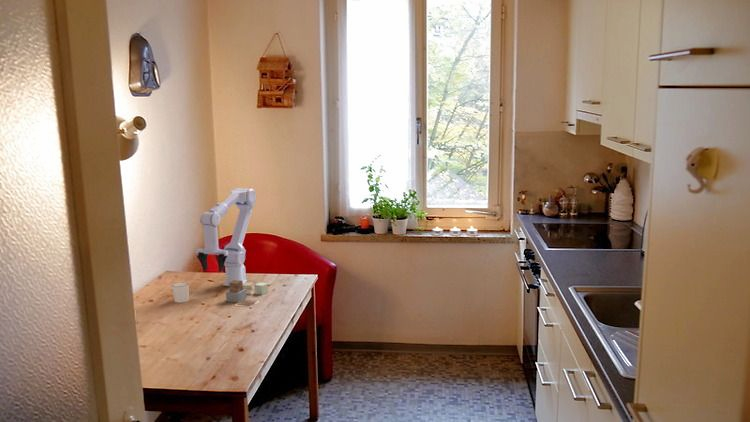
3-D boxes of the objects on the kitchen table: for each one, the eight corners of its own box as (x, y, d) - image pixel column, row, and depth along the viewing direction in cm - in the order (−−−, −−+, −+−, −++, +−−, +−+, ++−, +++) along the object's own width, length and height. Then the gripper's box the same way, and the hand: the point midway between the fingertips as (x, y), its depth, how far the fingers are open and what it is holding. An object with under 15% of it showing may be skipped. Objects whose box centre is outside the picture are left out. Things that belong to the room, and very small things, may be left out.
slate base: (234, 297, 283) (234, 288, 282) (246, 298, 280) (246, 289, 280) (226, 301, 277) (225, 292, 277) (238, 302, 275) (237, 293, 274)
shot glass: (179, 304, 274) (178, 287, 273) (169, 301, 278) (168, 285, 277) (193, 299, 279) (192, 283, 278) (183, 297, 283) (182, 281, 282)
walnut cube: (234, 289, 281) (233, 279, 280) (242, 289, 280) (242, 280, 279) (229, 291, 277) (229, 282, 276) (238, 292, 276) (237, 283, 275)
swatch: (243, 300, 278) (243, 298, 277) (259, 301, 275) (259, 300, 275) (235, 305, 271) (235, 304, 271) (251, 307, 269) (251, 305, 269)
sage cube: (260, 291, 290) (260, 282, 289) (268, 292, 288) (267, 283, 288) (254, 293, 287) (254, 284, 286) (262, 294, 285) (262, 285, 284)
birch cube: (244, 291, 290) (243, 282, 290) (253, 291, 290) (253, 282, 289) (242, 294, 286) (241, 285, 286) (251, 294, 286) (251, 285, 286)
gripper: (191, 241, 283) (193, 272, 285) (221, 242, 278) (223, 274, 281) (200, 237, 289) (202, 267, 292) (229, 239, 285) (231, 269, 287)
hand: (213, 270), depth 287 cm, fingers open, 7 cm apart
